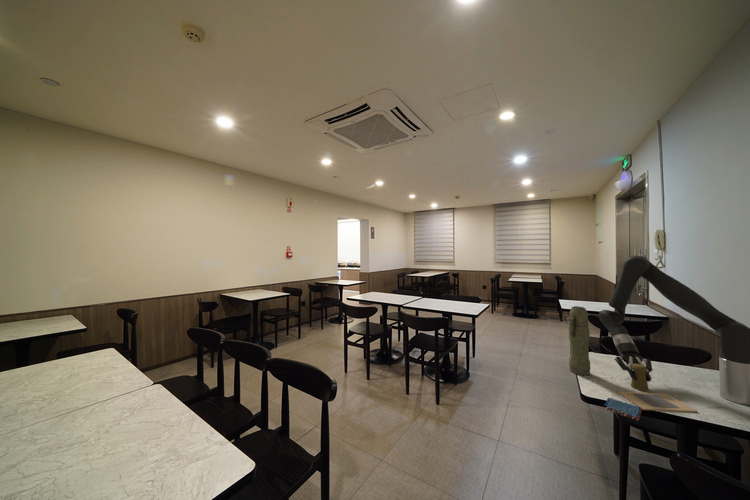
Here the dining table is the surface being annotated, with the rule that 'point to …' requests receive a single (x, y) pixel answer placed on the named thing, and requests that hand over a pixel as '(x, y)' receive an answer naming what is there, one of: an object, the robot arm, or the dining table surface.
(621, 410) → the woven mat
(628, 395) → the tan flat board
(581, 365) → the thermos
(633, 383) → the cork
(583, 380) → the dining table surface
